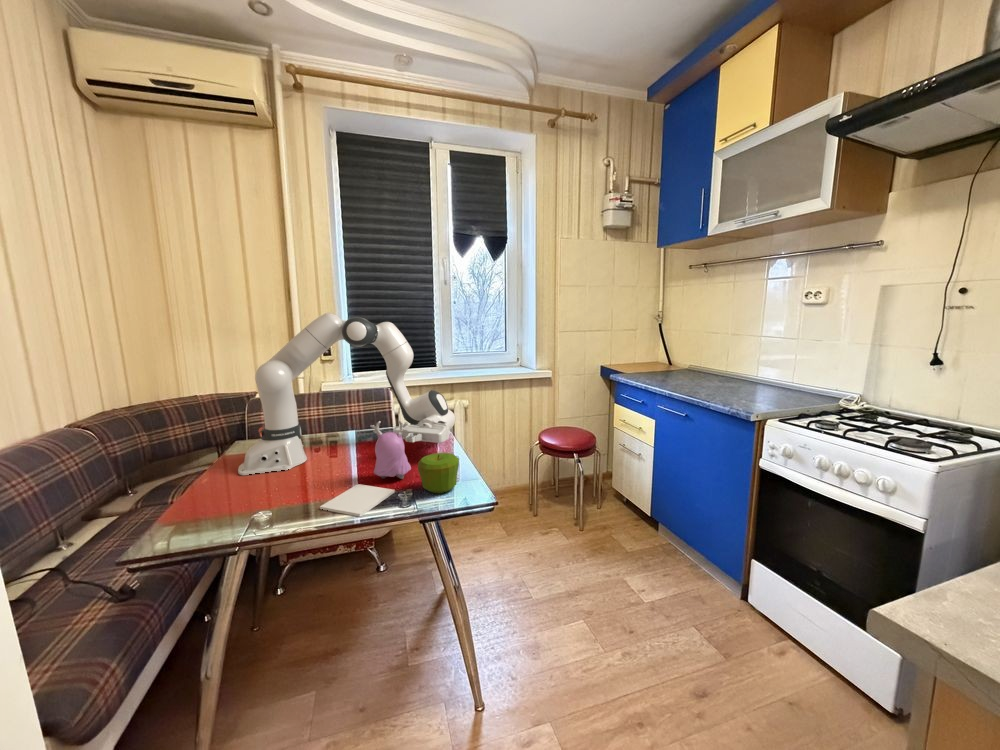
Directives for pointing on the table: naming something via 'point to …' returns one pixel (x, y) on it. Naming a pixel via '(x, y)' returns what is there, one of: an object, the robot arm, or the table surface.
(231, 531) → the table surface
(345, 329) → the robot arm
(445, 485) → the apple
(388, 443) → the toy character
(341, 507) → the mat
